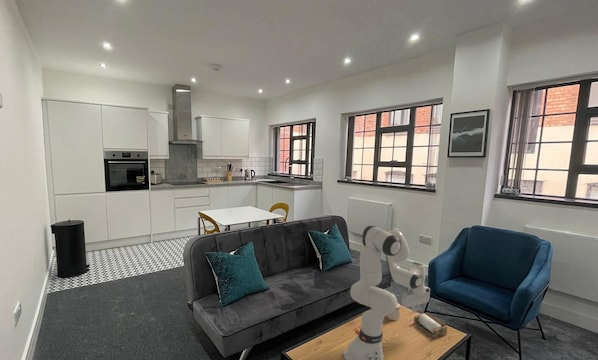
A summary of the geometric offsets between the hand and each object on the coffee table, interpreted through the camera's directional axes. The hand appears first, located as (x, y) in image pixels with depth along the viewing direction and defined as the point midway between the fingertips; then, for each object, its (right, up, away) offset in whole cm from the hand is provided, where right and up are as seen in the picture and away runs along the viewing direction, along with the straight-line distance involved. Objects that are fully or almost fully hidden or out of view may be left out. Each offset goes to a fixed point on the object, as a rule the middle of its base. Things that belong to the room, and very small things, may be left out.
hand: (414, 310), depth 174 cm
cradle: (+13, -15, +8) cm, 21 cm away
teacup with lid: (-7, -14, +21) cm, 26 cm away
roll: (+12, -12, +7) cm, 19 cm away
